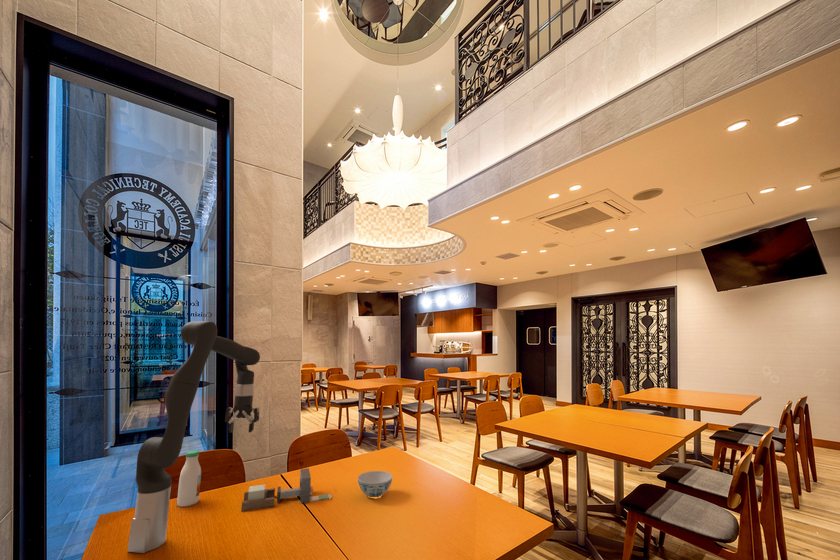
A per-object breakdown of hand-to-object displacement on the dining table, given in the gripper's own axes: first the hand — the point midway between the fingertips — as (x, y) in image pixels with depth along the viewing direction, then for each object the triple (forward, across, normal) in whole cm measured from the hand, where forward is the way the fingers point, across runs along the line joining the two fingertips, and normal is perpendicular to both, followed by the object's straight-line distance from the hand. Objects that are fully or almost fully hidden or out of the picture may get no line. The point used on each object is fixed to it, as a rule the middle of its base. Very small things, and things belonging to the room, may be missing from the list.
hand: (240, 432), depth 164 cm
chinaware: (+26, +61, -1) cm, 66 cm away
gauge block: (+26, +13, -8) cm, 30 cm away
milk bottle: (+26, -16, -8) cm, 32 cm away
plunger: (+26, +27, -4) cm, 37 cm away
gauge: (+26, +24, -4) cm, 36 cm away
